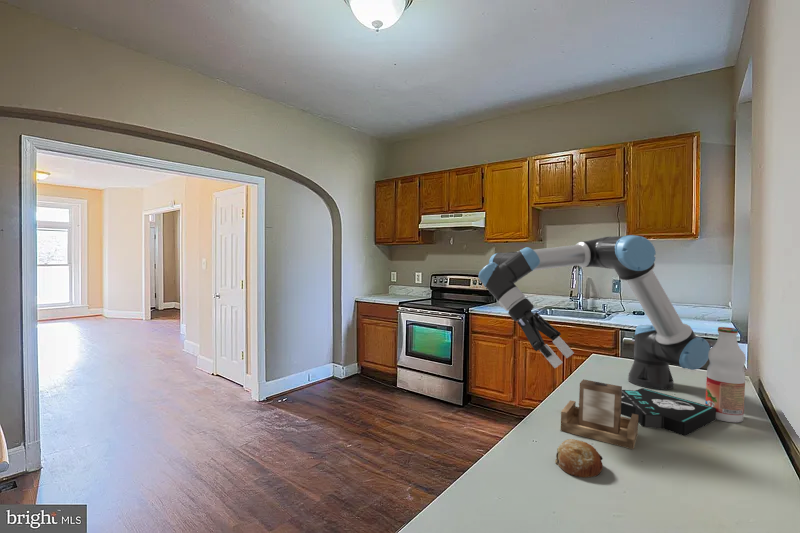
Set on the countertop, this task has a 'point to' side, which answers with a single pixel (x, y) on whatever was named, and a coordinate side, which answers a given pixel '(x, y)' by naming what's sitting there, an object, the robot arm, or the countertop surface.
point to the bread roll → (578, 458)
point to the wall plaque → (666, 411)
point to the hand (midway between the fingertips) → (565, 360)
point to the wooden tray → (623, 438)
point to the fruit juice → (726, 377)
